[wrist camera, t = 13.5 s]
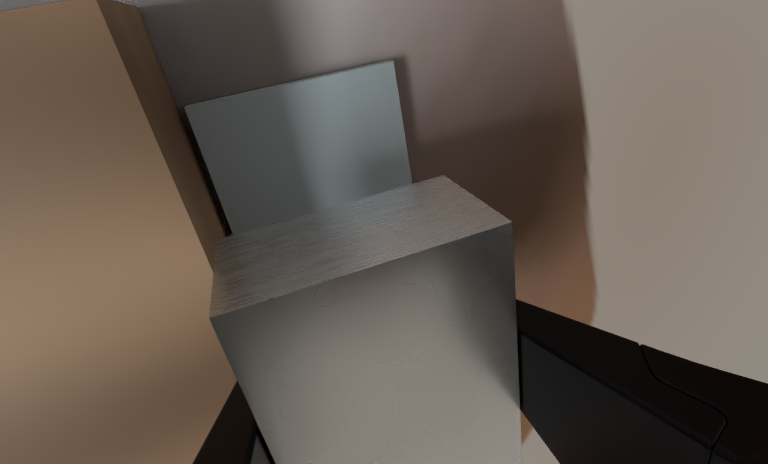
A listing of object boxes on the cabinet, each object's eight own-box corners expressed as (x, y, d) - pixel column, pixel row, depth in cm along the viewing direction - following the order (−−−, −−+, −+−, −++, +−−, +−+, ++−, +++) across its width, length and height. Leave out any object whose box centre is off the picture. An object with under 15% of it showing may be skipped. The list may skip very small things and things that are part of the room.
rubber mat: (436, 360, 15) (440, 368, 15) (302, 410, 14) (304, 420, 14) (388, 59, 10) (393, 61, 10) (186, 105, 10) (184, 108, 9)
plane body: (325, 485, 16) (342, 573, 13) (95, 579, 14) (64, 699, 12) (137, 6, 9) (94, -5, 6) (-369, 97, 7) (-719, 133, 5)
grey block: (468, 386, 11) (522, 468, 9) (302, 450, 11) (319, 558, 8) (443, 174, 9) (512, 222, 6) (216, 239, 8) (209, 317, 6)
